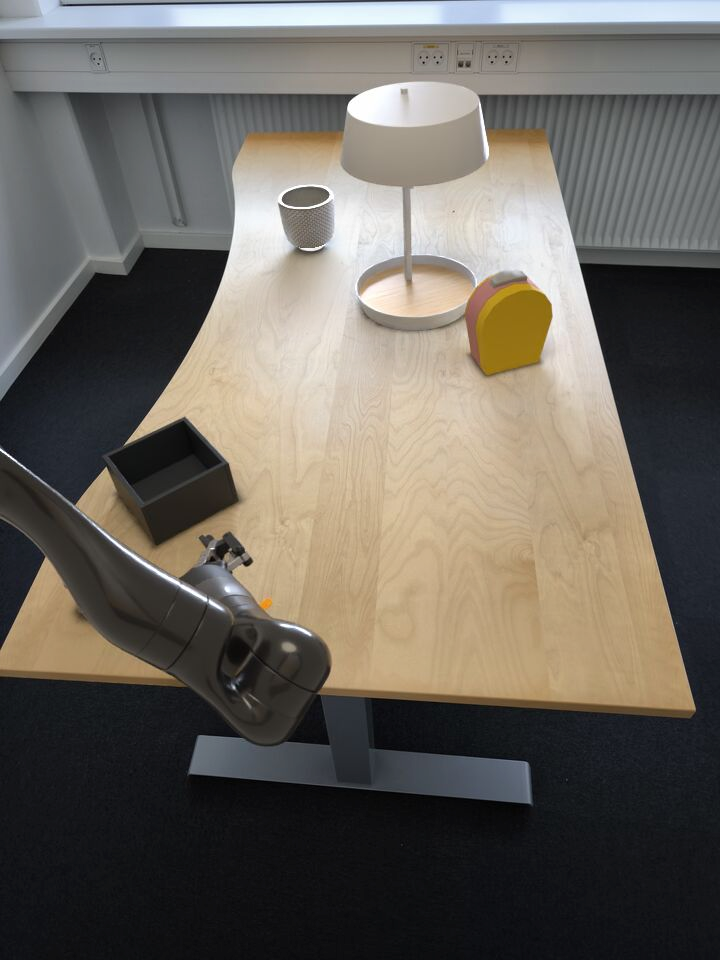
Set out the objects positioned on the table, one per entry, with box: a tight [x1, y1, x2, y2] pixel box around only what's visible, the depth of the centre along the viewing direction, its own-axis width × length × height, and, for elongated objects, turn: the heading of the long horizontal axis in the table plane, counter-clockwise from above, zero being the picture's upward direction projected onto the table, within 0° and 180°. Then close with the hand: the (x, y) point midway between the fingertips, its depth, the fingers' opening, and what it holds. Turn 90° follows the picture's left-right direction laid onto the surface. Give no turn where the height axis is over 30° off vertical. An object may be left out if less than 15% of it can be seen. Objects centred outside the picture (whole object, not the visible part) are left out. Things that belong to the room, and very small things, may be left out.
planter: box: [277, 184, 336, 248], centre depth 184 cm, size 14×14×13 cm
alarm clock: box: [464, 268, 553, 376], centre depth 142 cm, size 15×8×18 cm, turn 108°
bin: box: [101, 416, 239, 546], centre depth 123 cm, size 16×16×9 cm
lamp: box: [339, 81, 490, 332], centre depth 151 cm, size 29×29×43 cm
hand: (176, 562), depth 91 cm, fingers open, 8 cm apart
